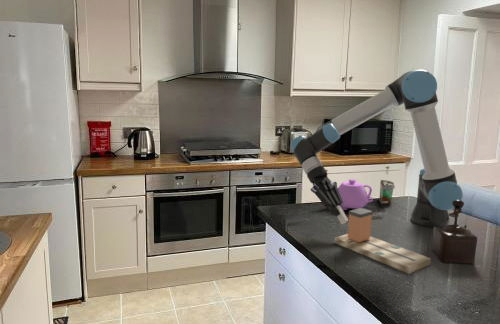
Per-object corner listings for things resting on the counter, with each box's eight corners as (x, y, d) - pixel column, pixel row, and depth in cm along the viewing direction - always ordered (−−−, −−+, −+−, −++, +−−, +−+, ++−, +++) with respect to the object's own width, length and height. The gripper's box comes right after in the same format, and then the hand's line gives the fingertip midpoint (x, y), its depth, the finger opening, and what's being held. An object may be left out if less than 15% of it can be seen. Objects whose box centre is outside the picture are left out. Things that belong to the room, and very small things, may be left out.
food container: (395, 206, 194) (396, 186, 192) (381, 205, 195) (383, 185, 193) (391, 199, 206) (393, 180, 204) (379, 198, 207) (380, 179, 205)
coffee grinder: (477, 265, 130) (484, 211, 127) (442, 263, 131) (448, 210, 128) (456, 246, 146) (462, 198, 142) (425, 245, 146) (430, 197, 143)
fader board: (334, 242, 147) (334, 237, 146) (355, 236, 154) (356, 230, 153) (409, 273, 123) (409, 267, 123) (430, 264, 130) (430, 258, 130)
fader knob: (347, 238, 145) (349, 210, 143) (359, 234, 149) (361, 207, 147) (358, 242, 141) (360, 214, 139) (370, 238, 145) (372, 211, 143)
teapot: (326, 211, 183) (328, 182, 181) (323, 202, 198) (324, 175, 196) (375, 213, 182) (378, 184, 179) (368, 204, 197) (370, 176, 194)
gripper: (320, 174, 166) (350, 223, 156) (297, 177, 158) (327, 230, 148) (331, 163, 161) (362, 214, 151) (308, 166, 153) (339, 220, 143)
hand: (344, 222), depth 149 cm, fingers closed
